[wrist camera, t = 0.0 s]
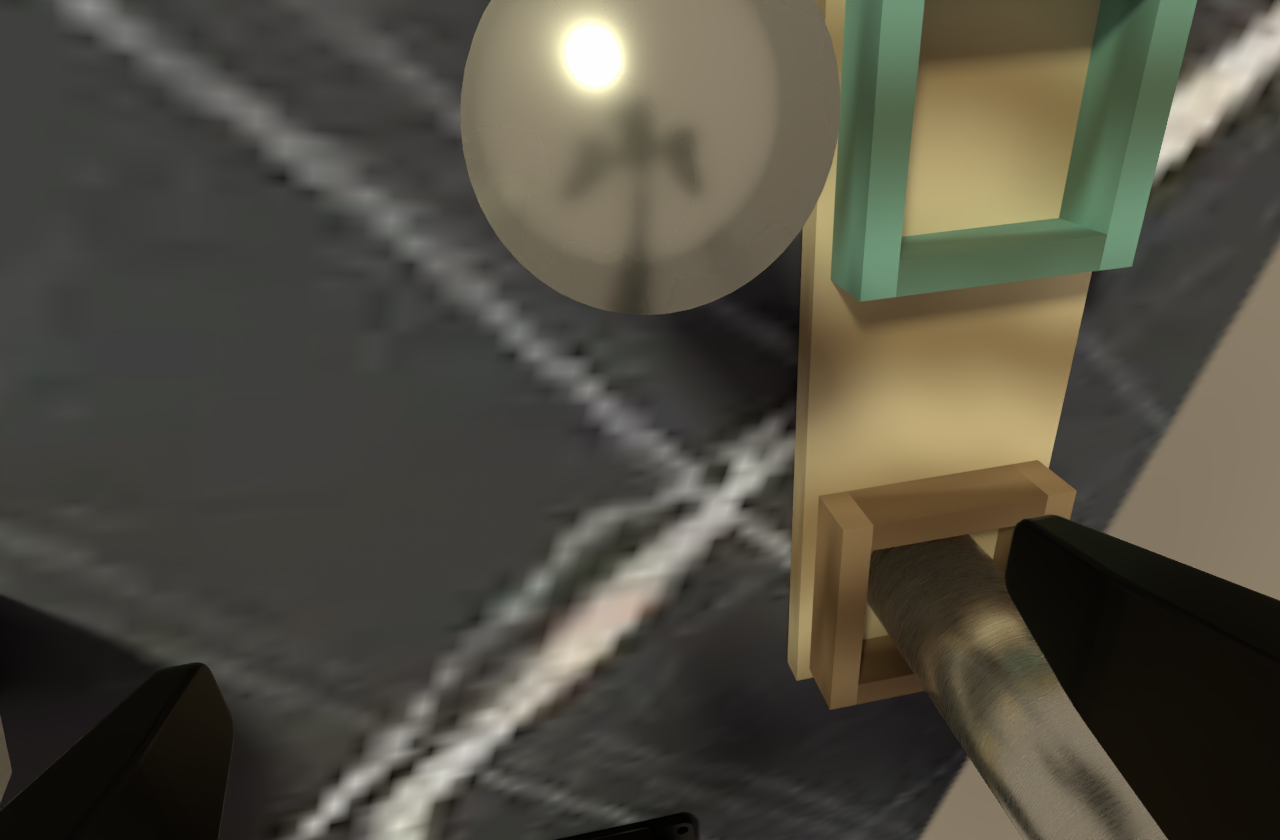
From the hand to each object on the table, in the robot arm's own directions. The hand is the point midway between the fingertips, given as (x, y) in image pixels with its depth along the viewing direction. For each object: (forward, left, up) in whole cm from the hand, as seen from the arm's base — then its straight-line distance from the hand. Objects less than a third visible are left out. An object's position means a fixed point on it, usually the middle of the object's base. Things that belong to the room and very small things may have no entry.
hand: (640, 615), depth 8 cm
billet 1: (+5, -1, -15) cm, 15 cm away
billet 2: (-13, -12, -14) cm, 22 cm away
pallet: (-4, -12, -15) cm, 19 cm away
